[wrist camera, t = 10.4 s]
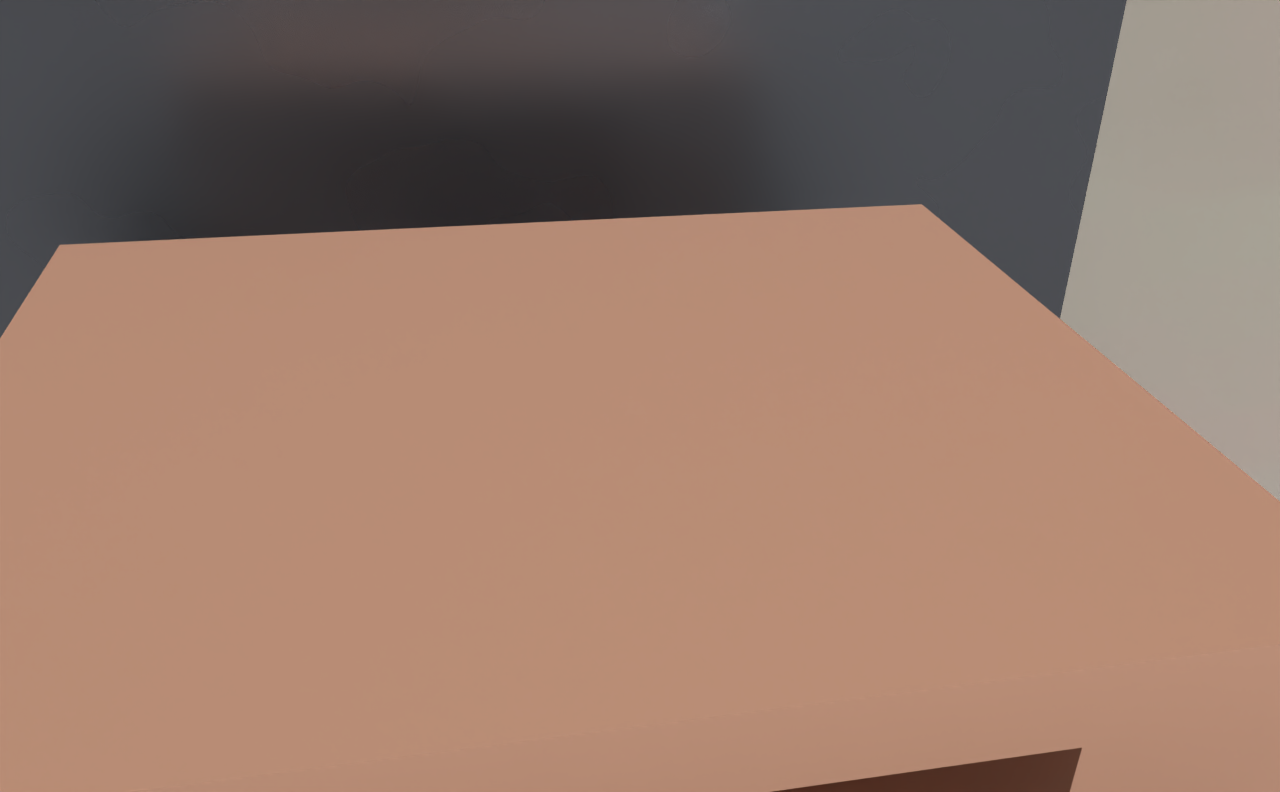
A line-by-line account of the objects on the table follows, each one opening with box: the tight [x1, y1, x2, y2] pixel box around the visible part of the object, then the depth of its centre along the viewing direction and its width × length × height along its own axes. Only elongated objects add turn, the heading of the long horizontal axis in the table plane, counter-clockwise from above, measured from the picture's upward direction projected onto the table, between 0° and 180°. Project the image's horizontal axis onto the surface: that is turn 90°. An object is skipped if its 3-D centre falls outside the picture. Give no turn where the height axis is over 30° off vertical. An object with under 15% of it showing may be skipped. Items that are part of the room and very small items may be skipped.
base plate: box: [0, 0, 1127, 338], centre depth 13 cm, size 13×14×7 cm
